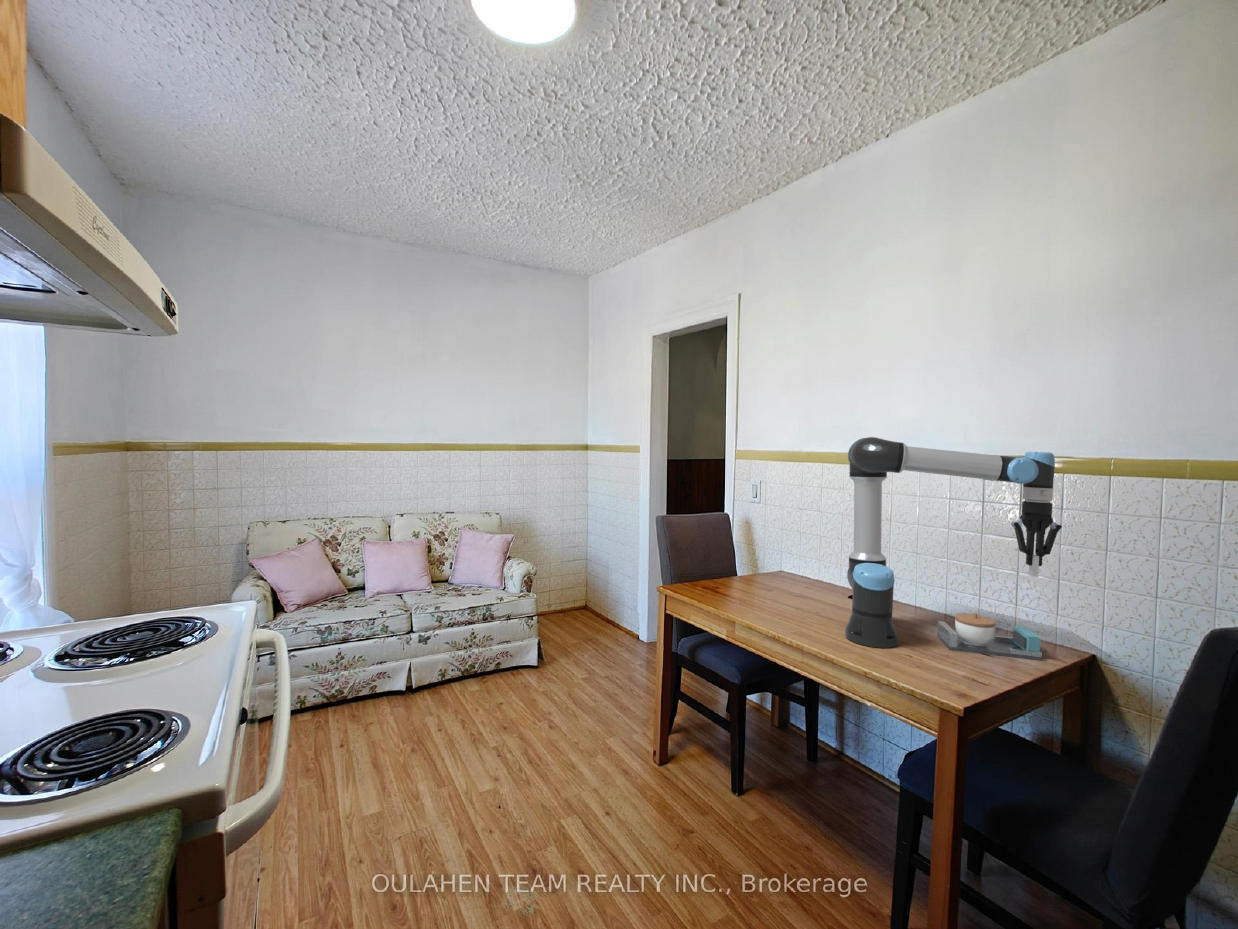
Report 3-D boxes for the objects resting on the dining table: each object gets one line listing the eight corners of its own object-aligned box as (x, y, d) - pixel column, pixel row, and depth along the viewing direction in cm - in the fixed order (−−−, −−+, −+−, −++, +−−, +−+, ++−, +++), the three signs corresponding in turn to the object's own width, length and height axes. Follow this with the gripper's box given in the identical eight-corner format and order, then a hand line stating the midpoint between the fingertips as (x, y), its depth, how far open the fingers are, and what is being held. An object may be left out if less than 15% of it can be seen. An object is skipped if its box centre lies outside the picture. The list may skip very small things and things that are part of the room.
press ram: (1025, 652, 161) (1026, 636, 161) (1011, 641, 171) (1012, 625, 171) (1039, 654, 160) (1040, 637, 160) (1024, 643, 170) (1025, 627, 170)
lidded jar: (993, 652, 162) (995, 621, 162) (951, 643, 169) (953, 613, 168) (995, 642, 171) (997, 613, 170) (955, 634, 177) (957, 606, 177)
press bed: (949, 649, 166) (950, 633, 166) (937, 636, 178) (937, 621, 178) (1041, 660, 159) (1042, 643, 159) (1022, 645, 172) (1022, 629, 171)
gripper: (1018, 501, 168) (1014, 576, 169) (1068, 503, 164) (1063, 580, 165) (1008, 499, 175) (1004, 571, 176) (1055, 501, 171) (1051, 575, 172)
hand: (1033, 575), depth 170 cm, fingers closed
